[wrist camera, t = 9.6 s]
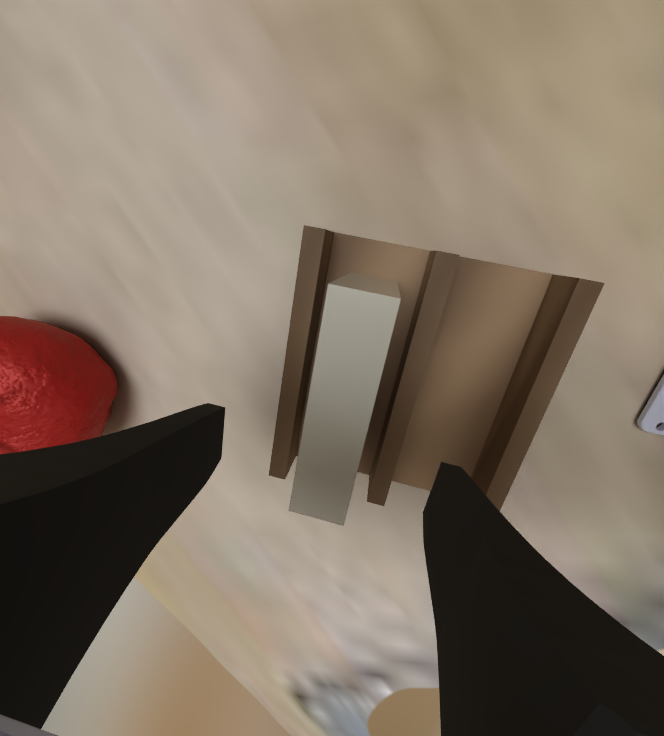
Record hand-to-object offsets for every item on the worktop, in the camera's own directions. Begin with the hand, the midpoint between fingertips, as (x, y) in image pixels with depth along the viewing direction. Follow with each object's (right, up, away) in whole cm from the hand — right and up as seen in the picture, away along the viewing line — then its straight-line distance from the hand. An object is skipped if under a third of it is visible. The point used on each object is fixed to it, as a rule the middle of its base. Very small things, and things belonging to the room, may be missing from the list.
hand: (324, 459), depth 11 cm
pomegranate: (-19, +2, +14) cm, 23 cm away
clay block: (+2, +3, +9) cm, 9 cm away
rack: (+5, +3, +9) cm, 11 cm away
